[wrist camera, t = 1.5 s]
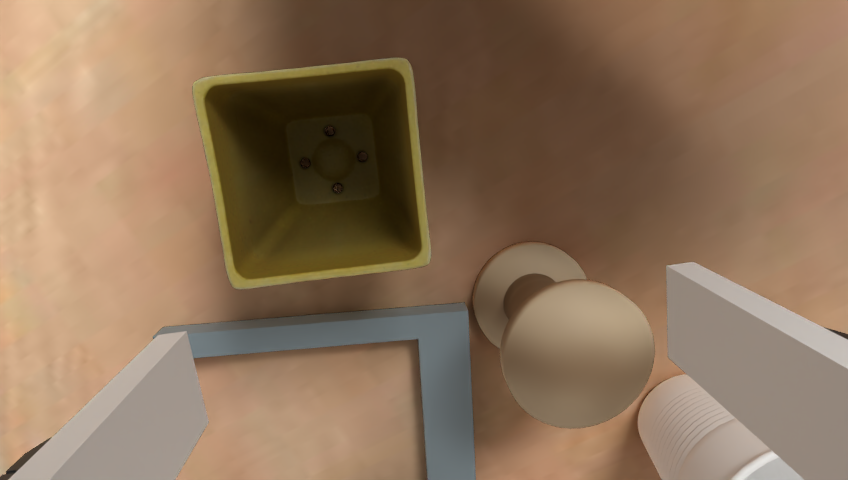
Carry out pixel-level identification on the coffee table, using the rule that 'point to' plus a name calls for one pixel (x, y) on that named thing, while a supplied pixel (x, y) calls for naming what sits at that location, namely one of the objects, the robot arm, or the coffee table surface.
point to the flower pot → (315, 171)
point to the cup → (702, 438)
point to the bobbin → (562, 336)
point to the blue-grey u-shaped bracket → (431, 324)
